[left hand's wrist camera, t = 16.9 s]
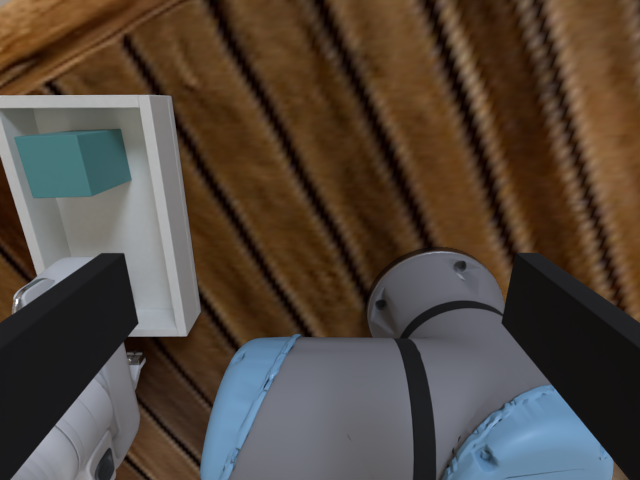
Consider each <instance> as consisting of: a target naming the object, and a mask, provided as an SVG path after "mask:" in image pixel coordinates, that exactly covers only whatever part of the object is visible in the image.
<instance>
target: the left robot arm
mask: <svg viewBox="0 0 640 480" xmlns="http://www.w3.org/2000/svg"><path fill="white" fill-rule="evenodd" d="M366 314H367V320H368V325H369V329H370V332H371V334H372V337H373V338H336V337H302V336H301V334H295V335H293V336H292V337H274V338H257V339H254V340H251V341H249V342H247V343H246V344H244V345H243V346H242V347H241V348H240V349H239V350H238V351H237V352H236V354H235V355H234V357H233V358H232V360H231V362H230V364H229V366H228V368H227V370H226V372H225V374H224V377H223V379H222V381H221V384H220V387H219V389H218V392H217V395H216V399H215V402H214V405H213V408H212V412H211V415H210V419H209V424H208V428H207V432H206V437H205V442H204V447H203V453H202V459H201V467H200V478H201V480H611V479H612V474H613V460H614V462H615V463H616V464H617V465H618V466H619V468H620V469H621V470H622V471H623V473H624V474H625V475H626V476H627V477H628V479H629V480H640V323H639V322H638V321H636V320H635V319H633V318H632V317H630V316H629V315H628V314H626V313H625V312H623V311H622V310H620V309H619V308H617V307H616V306H615V305H613V304H612V303H610V302H609V301H607V300H606V299H604V298H603V297H602V296H600V295H599V294H597V293H596V292H594V291H593V290H591V289H590V288H588V287H587V286H586V285H584V284H583V283H581V282H580V281H578V280H577V279H575V278H574V277H573V276H571V275H570V274H568V273H567V272H565V271H564V270H562V269H561V268H560V267H558V266H557V265H555V264H554V263H552V262H551V261H549V260H548V259H547V258H545V257H544V256H542V255H541V254H539V253H516V254H515V259H514V264H513V269H512V274H511V278H510V283H509V288H508V293H507V298H506V303H505V304H504V300H503V296H502V293H501V290H500V288H499V286H498V284H497V282H496V280H495V278H494V277H493V275H492V274H491V273H490V272H489V270H488V269H487V268H486V267H485V266H484V265H483V264H482V263H481V262H479V261H478V260H477V259H476V258H474V257H473V256H471V255H469V254H467V253H465V252H463V251H460V250H456V249H452V248H445V247H431V248H424V249H420V250H416V251H413V252H410V253H408V254H405V255H403V256H401V257H400V258H398V259H396V260H395V261H393V262H392V263H391V264H389V265H388V266H387V267H386V268H385V269H384V270H383V271H382V272H381V273H380V274H379V276H378V277H377V278H376V280H375V281H374V283H373V285H372V287H371V289H370V292H369V295H368V299H367V306H366ZM138 324H139V322H138V317H137V312H136V308H135V303H134V298H133V293H132V288H131V283H130V278H129V274H128V269H127V264H126V259H125V254H124V253H101V254H99V255H98V256H96V257H95V258H93V259H92V260H91V261H89V262H88V263H86V264H85V265H83V266H82V267H80V268H79V269H78V270H76V271H75V272H73V273H72V274H70V275H69V276H67V277H66V278H65V279H63V280H62V281H60V282H59V283H57V284H56V285H54V286H53V287H52V288H50V289H49V290H47V291H46V292H44V293H43V294H41V295H40V296H38V297H37V298H36V299H34V300H33V301H31V302H30V303H28V304H27V305H25V306H24V307H23V308H21V309H20V310H18V311H17V312H15V313H14V314H12V315H11V316H10V317H8V318H7V319H5V320H4V321H2V322H1V323H0V480H11V479H12V477H13V476H14V475H15V474H16V473H17V471H18V470H19V469H20V468H21V466H22V465H23V464H24V463H25V462H26V460H27V459H28V458H29V457H30V455H31V454H32V453H33V452H34V451H35V449H36V448H37V447H38V446H39V444H40V443H41V442H42V441H43V440H44V438H45V437H46V436H47V435H48V433H49V432H50V431H51V430H52V429H53V427H54V426H55V425H56V424H57V422H58V421H59V420H60V419H61V418H62V416H63V415H64V414H65V413H66V411H67V410H68V409H69V408H70V407H71V405H72V404H73V403H74V402H75V400H76V399H77V398H78V397H79V396H80V394H81V393H82V392H83V391H84V389H85V388H86V387H87V386H88V385H89V383H90V382H91V381H92V380H93V378H94V377H95V376H96V375H97V374H98V372H99V371H100V370H101V369H102V367H103V366H104V365H105V364H106V363H107V361H108V360H109V359H110V358H111V357H112V355H113V354H114V353H115V352H116V350H117V349H118V348H119V347H120V346H121V344H122V343H123V342H124V341H125V339H126V338H127V337H128V336H129V335H130V333H131V332H132V331H133V330H134V328H135V327H136V326H137V325H138Z"/></svg>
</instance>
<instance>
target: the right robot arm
mask: <svg viewBox="0 0 640 480" xmlns="http://www.w3.org/2000/svg"><path fill="white" fill-rule="evenodd" d="M93 258H95V257H84V256H79V257H66V258H62V259H60V260H58V261H57V262H55V263H54V264H52V265H51V266H50V267H48V268H47V269H46V270H44V271H43V272H42V273H41V274H40V275H38V276H37V277H36V278H35V279H34V280H33V281H32V282H31V283H29V284H27V285H26V286H24V287H23V288H21V289H20V290H18V291H17V292H16V294H15V295H14V302H13V306H12V314H14V313H15V312H17V311H18V310H20V309H21V308H23V307H24V306H25V305H27V304H28V303H30V302H31V301H33V300H34V299H36V298H37V297H38V296H40V295H41V294H43V293H44V292H46V291H47V290H49V289H50V288H52V287H53V286H54V285H56V284H57V283H59V282H60V281H62V280H63V279H65V278H66V277H67V276H69V275H70V274H72V273H73V272H75V271H76V270H78V269H79V268H80V267H82V266H83V265H85V264H86V263H88V262H89V261H91V260H92V259H93ZM145 362H146V359H145V355H144V351H143V350H142V349H139V350H136V349H132V350H129V351H128V352H127V355H126V350H125V346H124V342H123V343H122V344H121V346H120V347H119V348H118V349H117V350H116V352H115V353H114V354H113V355H112V357H111V358H110V359H109V360H108V361H107V363H106V364H105V365H104V366H103V367H102V369H101V370H100V371H99V372H98V374H97V375H96V376H95V377H94V378H93V380H92V381H91V382H90V383H89V385H88V386H87V387H86V388H85V389H84V391H83V392H82V393H81V394H80V396H79V397H78V398H77V399H76V400H75V402H74V403H73V404H72V405H71V407H70V408H69V409H68V410H67V411H66V413H65V414H64V415H63V416H62V418H61V419H60V420H59V421H58V422H57V424H56V425H55V426H54V427H53V429H52V430H51V431H50V432H49V433H48V435H47V436H46V437H45V438H44V440H43V441H42V442H41V443H40V444H39V446H38V447H37V448H36V449H35V451H34V452H33V453H32V454H31V455H30V457H29V458H28V459H27V460H26V462H25V463H24V464H23V465H22V466H21V468H20V469H19V470H18V471H17V473H16V474H15V475H14V476H13V477H12V479H11V480H114V479H115V477H116V469H117V468H118V467H119V466H120V464H121V463H122V461H123V459H124V457H125V456H126V454H127V452H128V450H129V448H130V446H131V444H132V442H133V440H134V438H135V436H136V434H137V432H138V428H139V423H140V412H139V407H138V403H137V399H136V394H135V389H136V387H137V383H138V379H139V374H140V369H141V368H142V366H143V365H144V363H145Z"/></svg>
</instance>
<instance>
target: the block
mask: <svg viewBox="0 0 640 480" xmlns="http://www.w3.org/2000/svg"><path fill="white" fill-rule="evenodd" d="M14 140H15V143H16V146H17V149H18V152H19V155H20V159H21V162H22V165H23V168H24V171H25V174H26V178H27V181H28V184H29V187H30V190H31V193H32V196H33V198H63V197H92V196H94V195H97V194H99V193H101V192H104V191H106V190H109V189H111V188H114V187H116V186H118V185H121V184H123V183H126V182H128V181H131V180H132V179H131V174H130V169H129V165H128V160H127V155H126V151H125V146H124V141H123V137H122V132H121V129H102V130H71V131H62V132H53V133H44V134H35V135H26V136H17V137H14Z"/></svg>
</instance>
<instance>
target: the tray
mask: <svg viewBox="0 0 640 480" xmlns="http://www.w3.org/2000/svg"><path fill="white" fill-rule="evenodd" d="M102 129H121V132H122V137H123V141H124V146H125V151H126V155H127V160H128V165H129V169H130V174H131V179H132V180H131V181H128V182H126V183H123V184H121V185H118V186H116V187H114V188H111V189H109V190H106V191H104V192H101V193H99V194H97V195H94V196H92V197H63V198H33V196H32V193H31V190H30V187H29V184H28V181H27V178H26V174H25V171H24V168H23V165H22V162H21V159H20V155H19V152H18V149H17V146H16V143H15V140H14V137H17V136H26V135H35V134H44V133H53V132H62V131H71V130H102ZM0 156H1V159H2V162H3V166H4V169H5V172H6V175H7V179H8V182H9V185H10V188H11V192H12V195H13V198H14V201H15V205H16V208H17V211H18V214H19V218H20V221H21V224H22V227H23V231H24V234H25V237H26V240H27V244H28V247H29V250H30V253H31V257H32V260H33V263H34V266H35V270H36V273H37V276H38V275H40V274H41V273H42V272H43V271H44V270H46V269H47V268H48V267H50V266H51V265H52V264H54V263H55V262H57V261H58V260H60V259H62V258H66V257H79V256H84V257H96V256H98V255H99V254H101V253H124V254H125V259H126V264H127V269H128V274H129V278H130V283H131V288H132V293H133V298H134V303H135V308H136V312H137V317H138V322H139V324H138V325H137V326H136V327H135V328H134V330H133V331H132V332H131V333H130V335H129V336H128V337H153V336H187V335H188V333H189V332H190V330H191V328H192V326H193V324H194V323H195V321H196V319H197V317H198V316H199V314H200V312H201V309H200V302H199V294H198V287H197V280H196V273H195V265H194V258H193V251H192V243H191V236H190V229H189V222H188V214H187V207H186V200H185V193H184V185H183V178H182V171H181V163H180V156H179V149H178V142H177V134H176V127H175V120H174V113H173V105H172V98H171V96H159V95H42V96H0Z"/></svg>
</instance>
